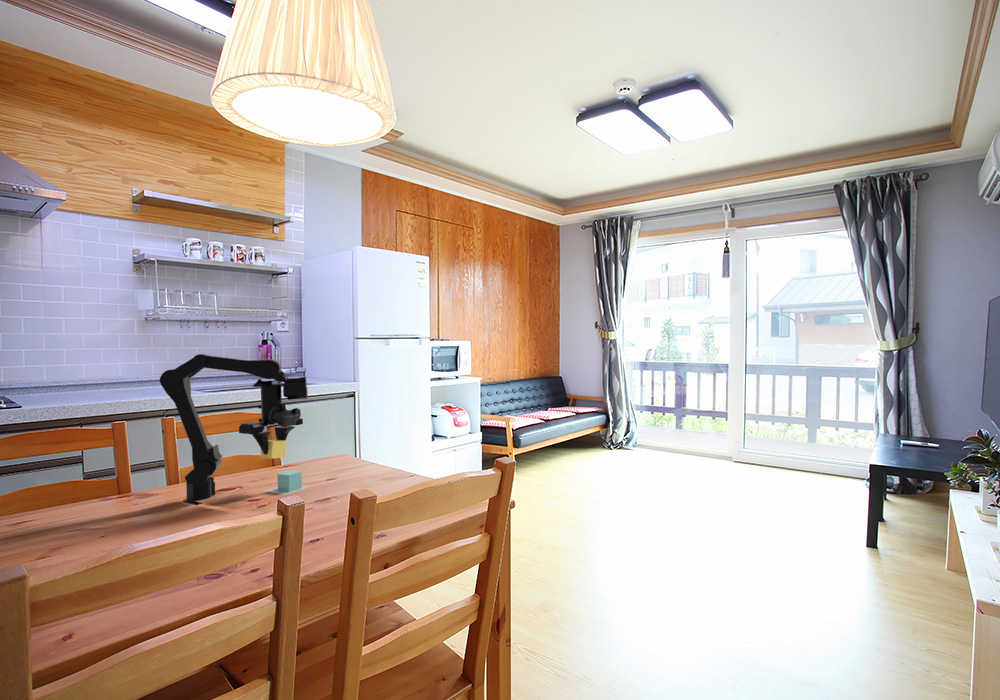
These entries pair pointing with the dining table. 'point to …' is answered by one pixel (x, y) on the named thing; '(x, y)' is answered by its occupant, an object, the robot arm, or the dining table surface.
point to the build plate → (275, 490)
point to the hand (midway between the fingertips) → (273, 452)
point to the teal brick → (289, 481)
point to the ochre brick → (275, 449)
